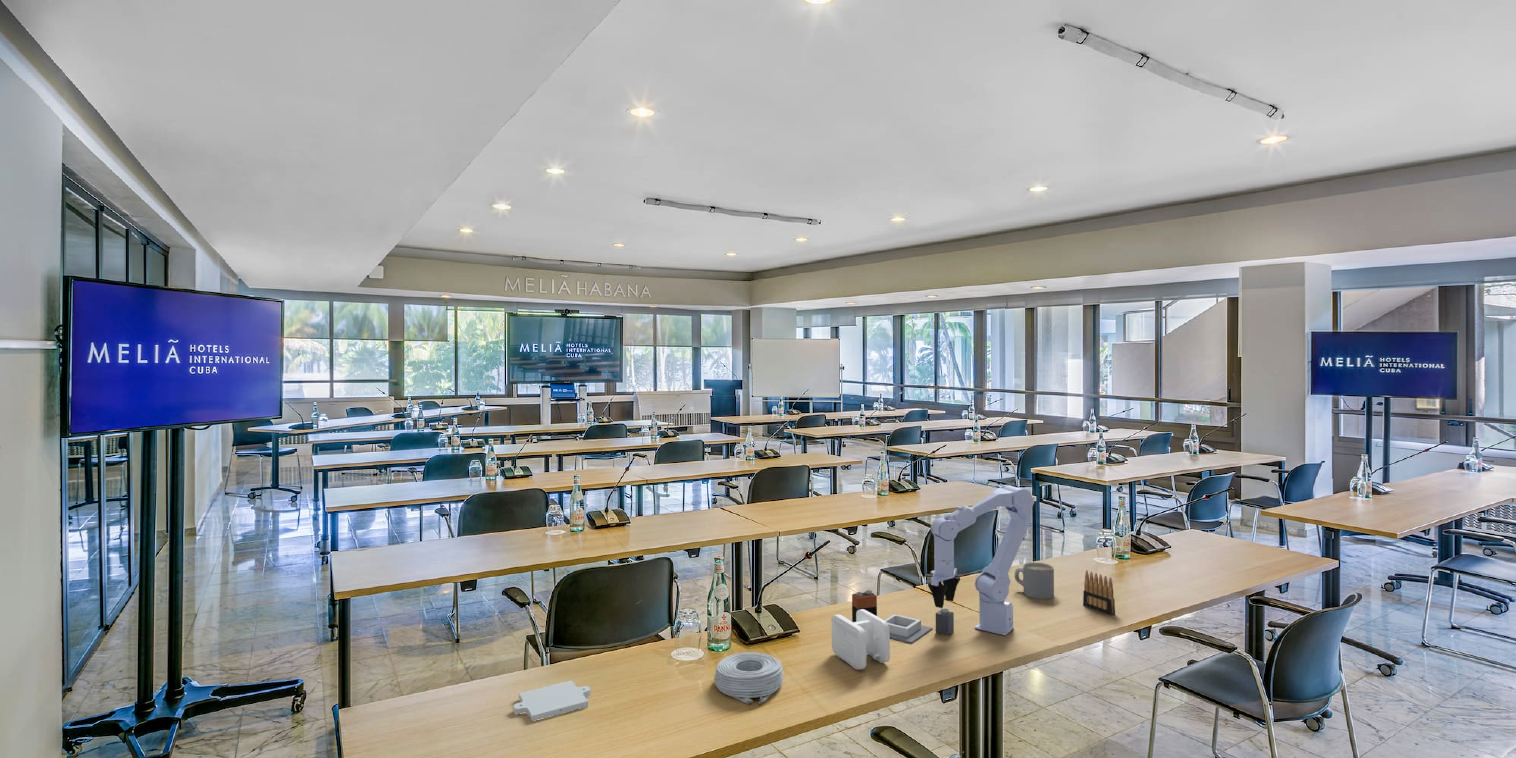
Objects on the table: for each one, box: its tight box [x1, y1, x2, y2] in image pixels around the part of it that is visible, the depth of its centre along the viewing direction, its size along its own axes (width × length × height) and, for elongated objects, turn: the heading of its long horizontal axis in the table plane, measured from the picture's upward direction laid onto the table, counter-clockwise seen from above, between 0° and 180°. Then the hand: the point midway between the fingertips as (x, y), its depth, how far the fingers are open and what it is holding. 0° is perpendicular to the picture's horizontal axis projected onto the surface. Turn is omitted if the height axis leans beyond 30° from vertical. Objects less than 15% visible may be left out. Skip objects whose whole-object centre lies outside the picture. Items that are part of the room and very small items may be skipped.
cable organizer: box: [831, 609, 891, 671], centre depth 187 cm, size 15×11×12 cm
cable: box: [713, 651, 784, 705], centre depth 172 cm, size 18×18×6 cm
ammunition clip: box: [1082, 570, 1116, 616], centre depth 224 cm, size 11×2×12 cm, turn 25°
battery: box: [851, 589, 878, 622], centre depth 214 cm, size 4×7×10 cm, turn 109°
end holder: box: [884, 613, 933, 645], centre depth 208 cm, size 14×14×3 cm
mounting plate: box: [513, 680, 592, 722], centre depth 164 cm, size 18×13×2 cm
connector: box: [935, 607, 955, 637], centre depth 206 cm, size 4×4×7 cm
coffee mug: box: [1014, 561, 1055, 600], centre depth 242 cm, size 13×10×10 cm
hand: (944, 603), depth 206 cm, fingers open, 7 cm apart
